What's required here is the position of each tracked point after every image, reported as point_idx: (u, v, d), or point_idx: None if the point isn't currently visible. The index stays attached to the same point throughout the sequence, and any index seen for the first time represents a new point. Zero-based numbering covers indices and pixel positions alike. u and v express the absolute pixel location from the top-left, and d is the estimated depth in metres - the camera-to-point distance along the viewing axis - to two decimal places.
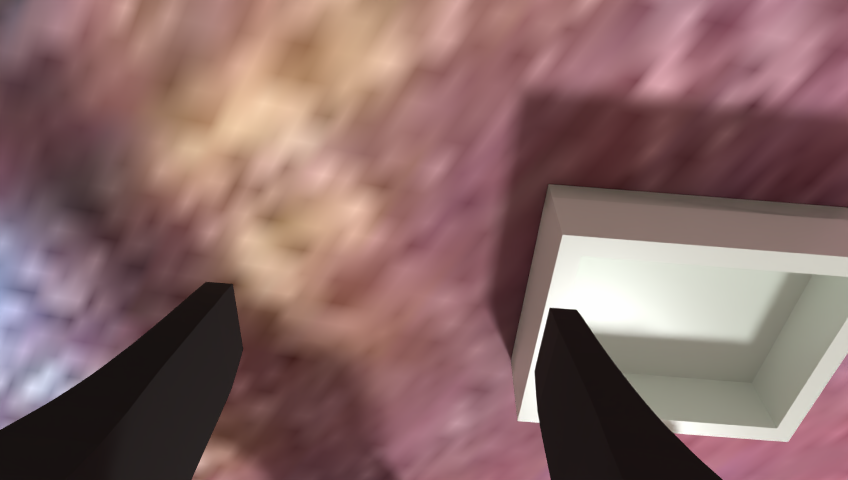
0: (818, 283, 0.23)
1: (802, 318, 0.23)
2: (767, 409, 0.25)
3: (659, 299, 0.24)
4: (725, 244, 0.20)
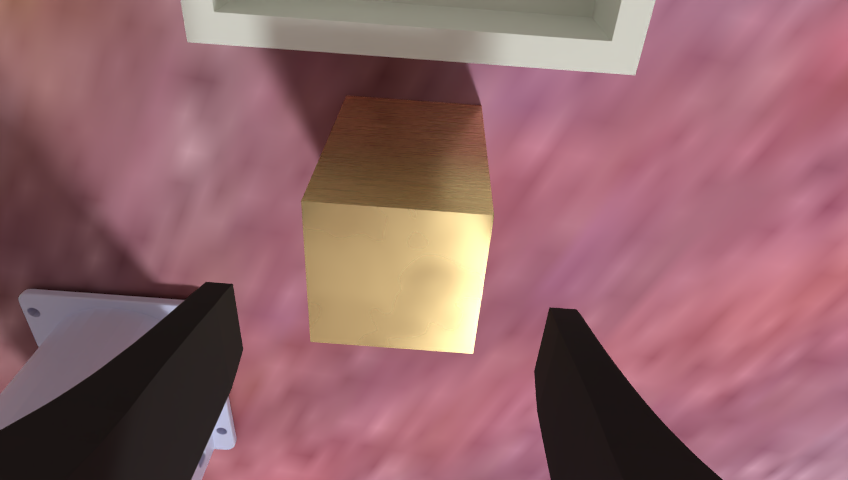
0: None
1: None
2: (604, 29, 0.15)
3: None
4: None
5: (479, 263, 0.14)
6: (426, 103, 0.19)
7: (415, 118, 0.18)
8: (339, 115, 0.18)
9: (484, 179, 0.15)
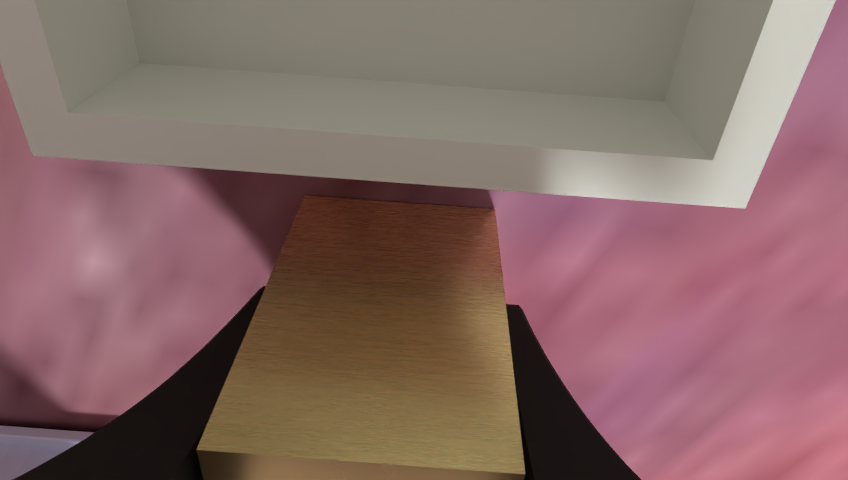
0: None
1: None
2: (692, 132, 0.10)
3: None
4: None
5: None
6: (417, 209, 0.14)
7: (400, 238, 0.12)
8: (289, 236, 0.12)
9: (505, 377, 0.09)
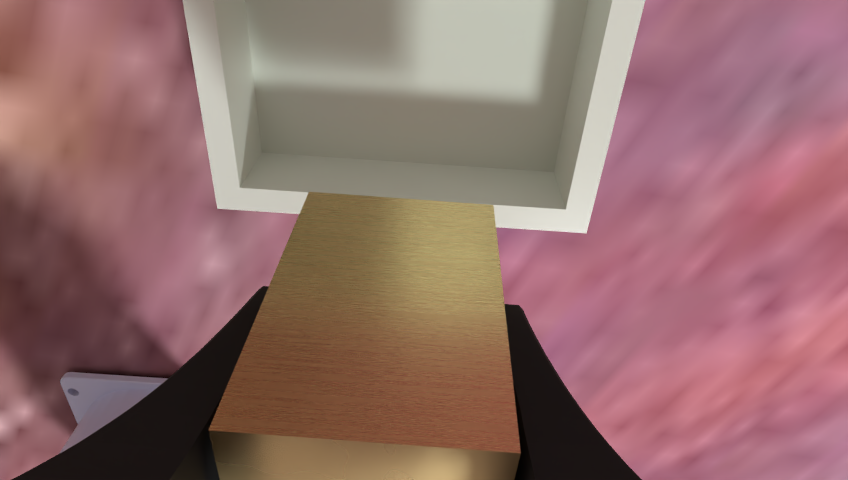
0: None
1: (585, 42, 0.17)
2: (561, 192, 0.19)
3: (396, 28, 0.17)
4: None
5: None
6: (418, 204, 0.14)
7: (401, 232, 0.13)
8: (294, 231, 0.13)
9: (502, 363, 0.10)
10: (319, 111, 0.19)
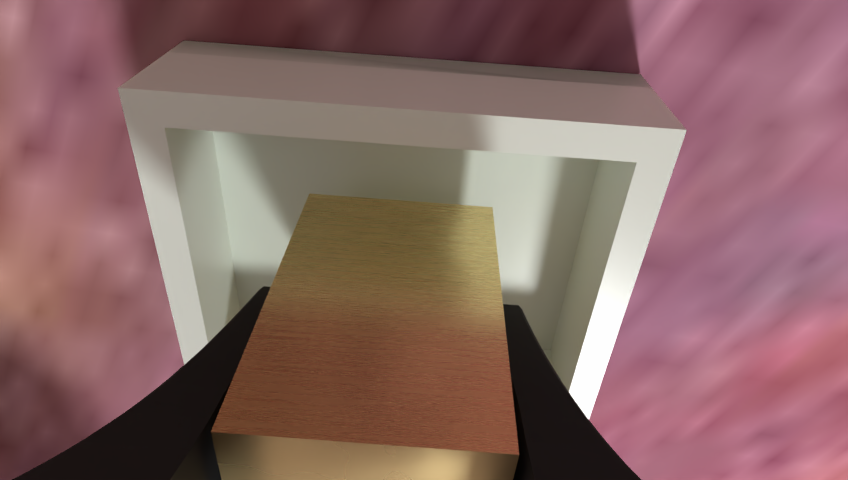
0: (597, 190, 0.15)
1: (585, 247, 0.16)
2: None
3: None
4: (391, 104, 0.12)
5: None
6: (417, 206, 0.14)
7: (401, 235, 0.13)
8: (295, 233, 0.13)
9: (501, 366, 0.10)
10: None
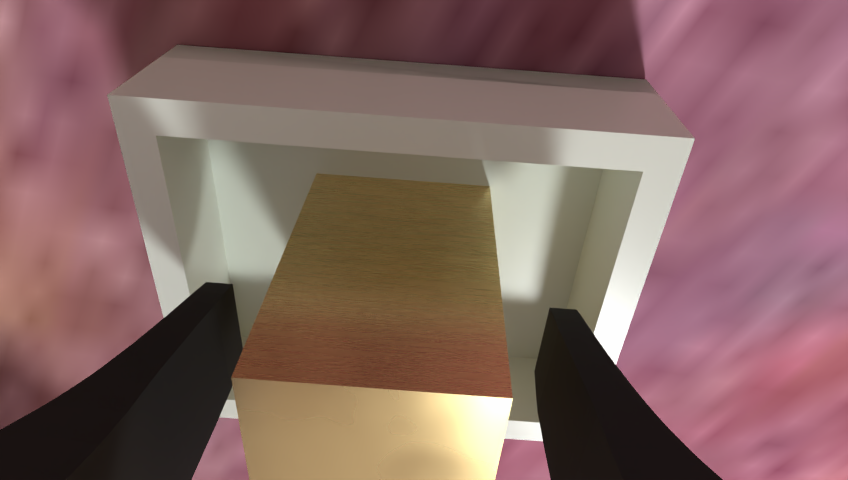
0: (602, 198, 0.15)
1: (588, 256, 0.15)
2: None
3: None
4: (389, 112, 0.12)
5: (491, 452, 0.10)
6: (418, 185, 0.15)
7: (403, 210, 0.14)
8: (303, 208, 0.14)
9: (497, 323, 0.11)
10: None
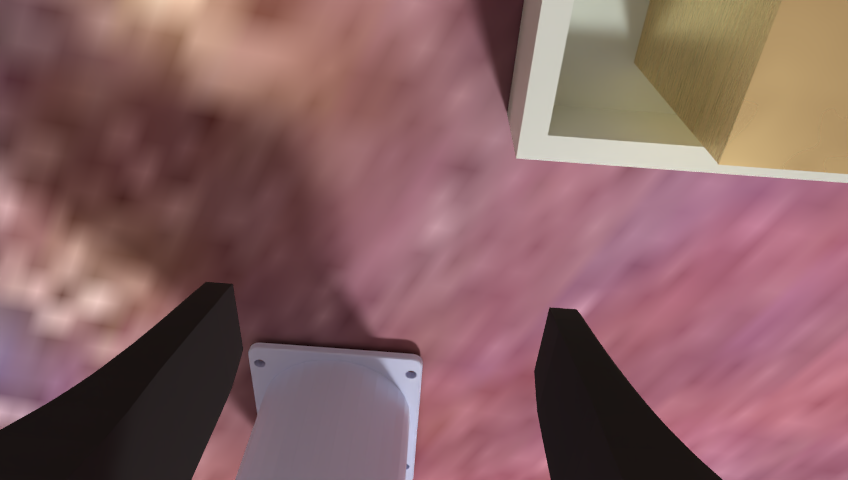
0: None
1: None
2: None
3: None
4: None
5: None
6: None
7: None
8: None
9: None
10: (612, 58, 0.18)
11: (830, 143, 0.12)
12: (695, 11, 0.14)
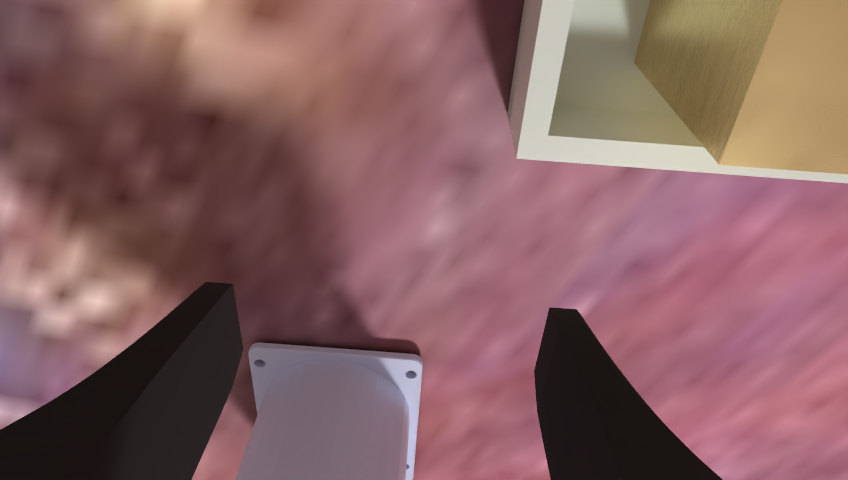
0: None
1: None
2: None
3: None
4: None
5: None
6: None
7: None
8: None
9: None
10: (612, 59, 0.18)
11: (830, 143, 0.12)
12: (696, 11, 0.14)
